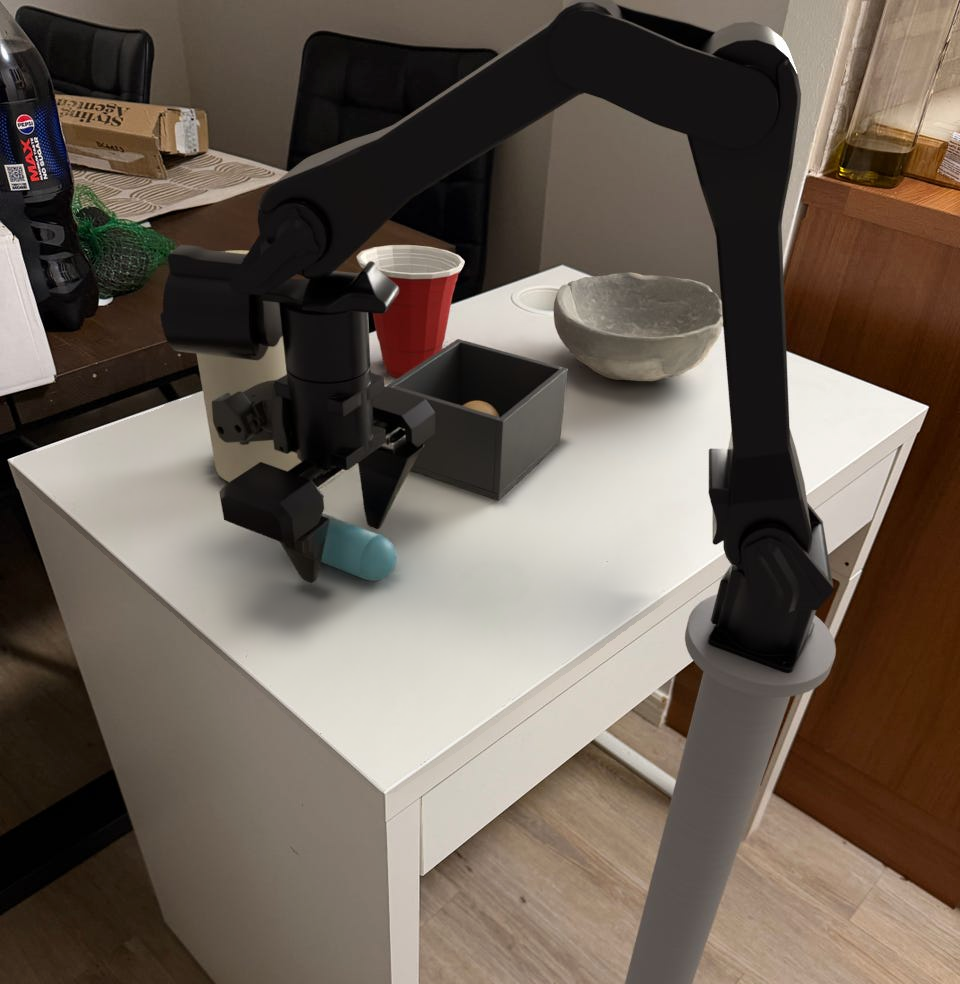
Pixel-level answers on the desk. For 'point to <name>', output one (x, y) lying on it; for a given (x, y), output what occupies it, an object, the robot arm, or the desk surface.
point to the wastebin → (486, 415)
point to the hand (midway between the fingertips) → (342, 552)
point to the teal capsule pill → (358, 551)
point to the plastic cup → (413, 302)
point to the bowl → (638, 324)
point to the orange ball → (482, 407)
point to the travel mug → (232, 378)
